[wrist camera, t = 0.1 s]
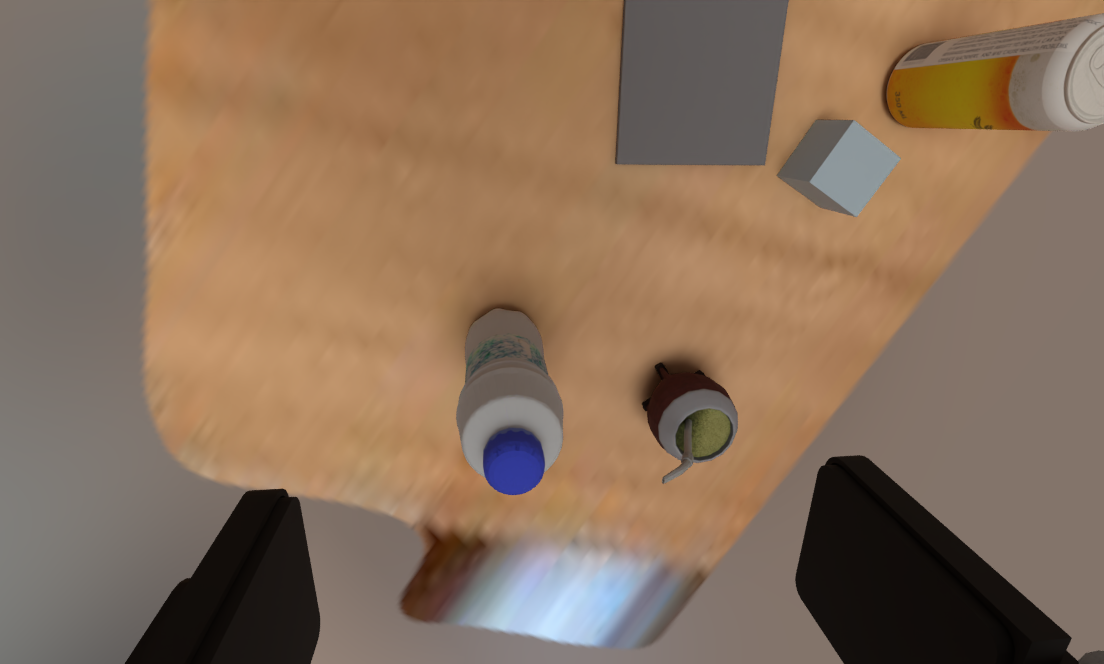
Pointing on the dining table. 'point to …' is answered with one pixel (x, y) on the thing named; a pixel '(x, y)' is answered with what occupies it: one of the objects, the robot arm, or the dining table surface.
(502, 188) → the dining table surface
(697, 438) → the mate gourd
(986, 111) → the beer can
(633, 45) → the coaster
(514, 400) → the bottle
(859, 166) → the letter block
